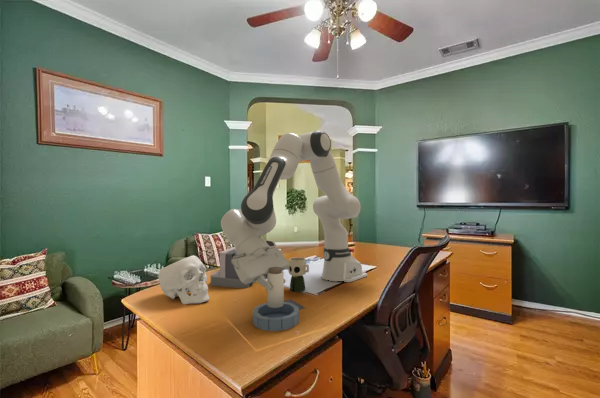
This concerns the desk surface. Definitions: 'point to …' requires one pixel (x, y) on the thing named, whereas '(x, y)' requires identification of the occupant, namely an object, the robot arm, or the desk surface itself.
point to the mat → (295, 303)
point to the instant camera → (227, 272)
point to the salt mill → (275, 287)
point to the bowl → (276, 317)
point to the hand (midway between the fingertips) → (277, 286)
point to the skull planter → (185, 280)
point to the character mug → (297, 272)
